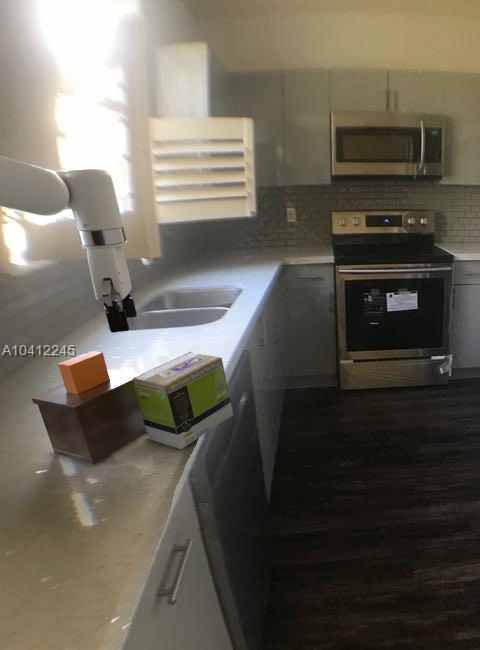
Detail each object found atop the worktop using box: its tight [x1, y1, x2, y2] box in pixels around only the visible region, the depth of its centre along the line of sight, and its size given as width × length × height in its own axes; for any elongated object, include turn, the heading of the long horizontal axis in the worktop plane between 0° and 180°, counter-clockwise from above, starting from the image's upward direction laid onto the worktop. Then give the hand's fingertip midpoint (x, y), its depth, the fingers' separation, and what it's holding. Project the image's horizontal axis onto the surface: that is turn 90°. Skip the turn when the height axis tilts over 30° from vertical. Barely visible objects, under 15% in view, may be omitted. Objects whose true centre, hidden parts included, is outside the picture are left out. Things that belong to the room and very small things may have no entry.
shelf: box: [31, 368, 147, 465], centre depth 93 cm, size 12×15×13 cm
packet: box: [57, 350, 110, 394], centre depth 90 cm, size 3×7×6 cm, turn 159°
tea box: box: [132, 351, 234, 450], centre depth 97 cm, size 15×10×15 cm, turn 154°
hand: (124, 324), depth 93 cm, fingers open, 9 cm apart
